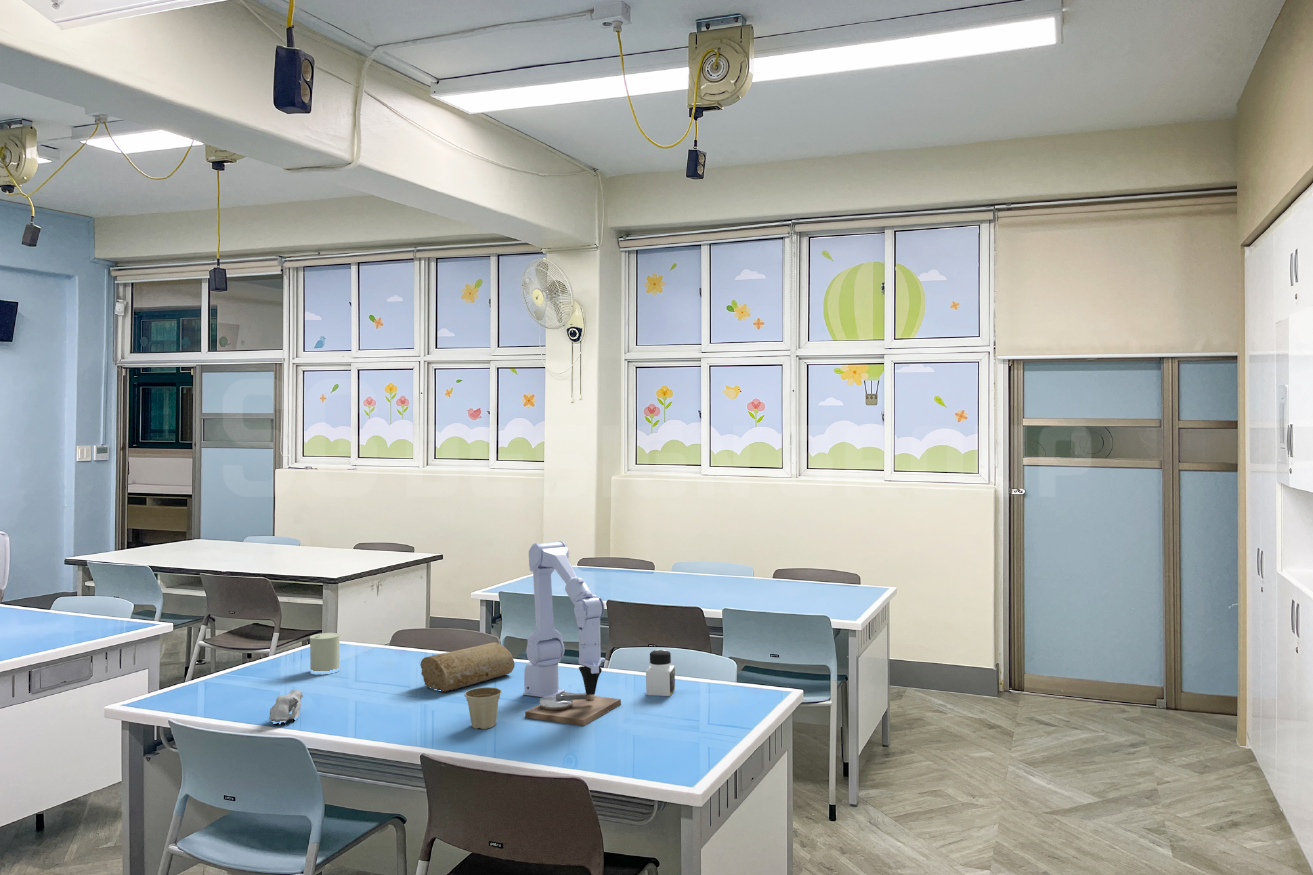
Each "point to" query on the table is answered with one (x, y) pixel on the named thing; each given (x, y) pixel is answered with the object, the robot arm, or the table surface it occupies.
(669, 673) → the medicine bottle
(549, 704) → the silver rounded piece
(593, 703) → the stand board
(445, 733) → the table surface
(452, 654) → the core sample
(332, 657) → the can
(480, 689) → the flower pot
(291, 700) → the skull
